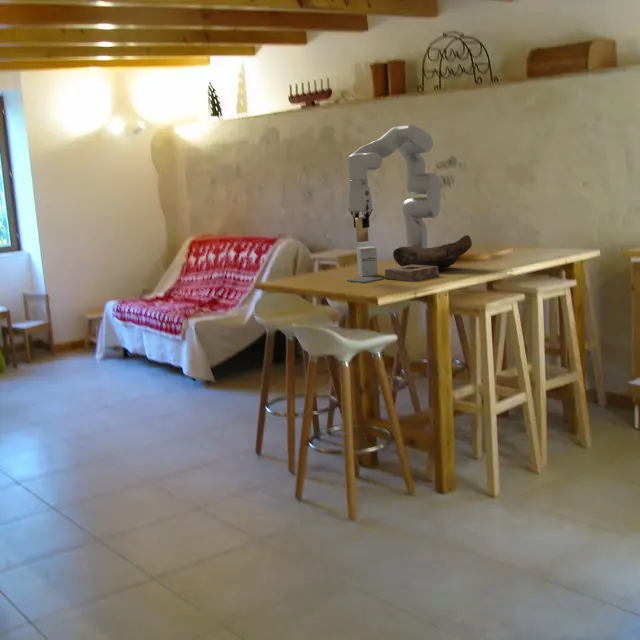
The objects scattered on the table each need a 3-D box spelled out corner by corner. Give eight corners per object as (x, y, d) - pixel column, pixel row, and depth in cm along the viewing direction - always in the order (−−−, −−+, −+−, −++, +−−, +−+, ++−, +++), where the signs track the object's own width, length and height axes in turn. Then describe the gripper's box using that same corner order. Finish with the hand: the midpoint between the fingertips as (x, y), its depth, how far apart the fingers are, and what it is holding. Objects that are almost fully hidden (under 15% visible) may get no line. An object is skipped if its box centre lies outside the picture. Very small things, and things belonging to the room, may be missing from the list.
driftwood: (479, 268, 361) (477, 234, 359) (454, 274, 349) (452, 239, 346) (413, 265, 388) (411, 233, 385) (388, 271, 375) (386, 238, 372)
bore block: (412, 273, 362) (412, 264, 361) (438, 275, 349) (438, 266, 348) (385, 278, 352) (384, 269, 351) (411, 281, 340) (410, 271, 339)
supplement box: (362, 277, 363) (360, 248, 361) (358, 275, 370) (356, 247, 368) (378, 275, 364) (376, 246, 362) (373, 273, 371) (372, 245, 369)
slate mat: (366, 277, 360) (366, 276, 360) (383, 279, 351) (383, 277, 351) (347, 281, 353) (347, 280, 353) (363, 283, 344) (363, 281, 344)
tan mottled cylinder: (363, 240, 352) (361, 216, 350) (370, 240, 348) (369, 216, 346) (354, 241, 349) (352, 218, 348) (361, 241, 345) (360, 218, 344)
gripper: (379, 182, 340) (381, 226, 343) (352, 183, 353) (355, 226, 357) (365, 184, 335) (368, 228, 339) (339, 185, 349) (342, 228, 352)
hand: (361, 227), depth 348 cm, fingers closed on tan mottled cylinder, 5 cm apart
